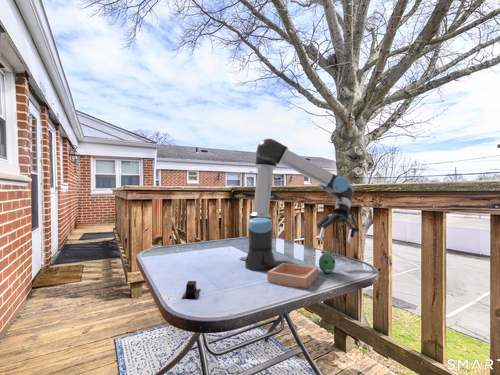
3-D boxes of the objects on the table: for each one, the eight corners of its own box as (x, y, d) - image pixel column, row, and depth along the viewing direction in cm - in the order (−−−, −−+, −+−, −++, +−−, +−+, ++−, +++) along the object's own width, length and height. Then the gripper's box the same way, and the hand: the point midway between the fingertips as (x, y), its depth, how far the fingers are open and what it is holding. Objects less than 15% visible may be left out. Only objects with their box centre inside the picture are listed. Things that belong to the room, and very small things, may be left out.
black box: (185, 289, 95) (185, 277, 95) (204, 288, 96) (204, 276, 96) (177, 303, 83) (177, 289, 83) (199, 302, 83) (199, 288, 83)
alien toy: (324, 276, 108) (324, 253, 109) (316, 271, 116) (316, 249, 116) (339, 275, 110) (338, 252, 110) (330, 270, 117) (329, 248, 118)
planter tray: (267, 281, 101) (267, 271, 102) (283, 271, 115) (283, 262, 115) (305, 289, 93) (305, 278, 93) (317, 277, 107) (317, 267, 107)
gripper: (369, 213, 127) (363, 248, 115) (321, 211, 142) (311, 242, 129) (366, 203, 123) (360, 238, 110) (317, 202, 138) (307, 233, 125)
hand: (333, 240), depth 120 cm, fingers open, 13 cm apart
